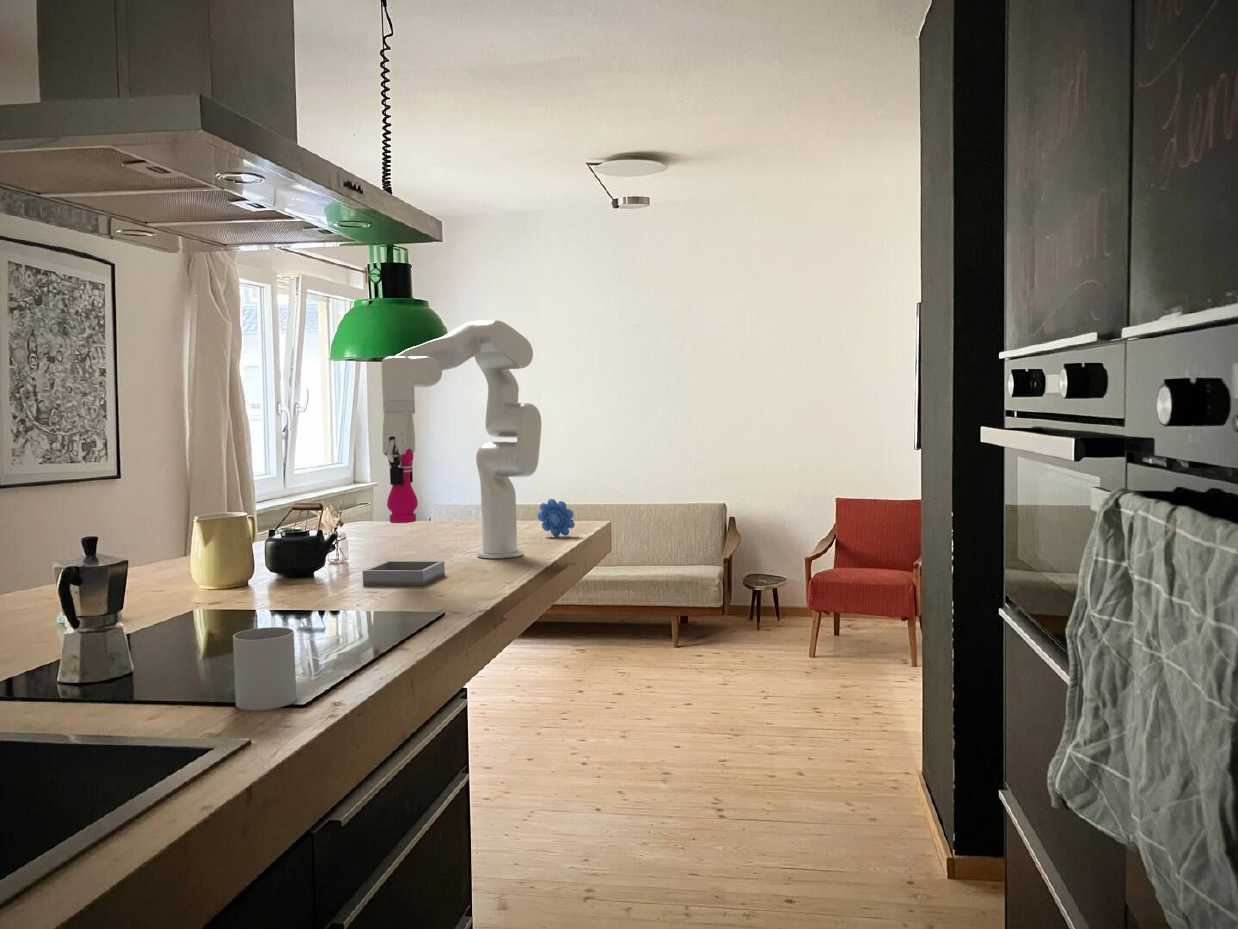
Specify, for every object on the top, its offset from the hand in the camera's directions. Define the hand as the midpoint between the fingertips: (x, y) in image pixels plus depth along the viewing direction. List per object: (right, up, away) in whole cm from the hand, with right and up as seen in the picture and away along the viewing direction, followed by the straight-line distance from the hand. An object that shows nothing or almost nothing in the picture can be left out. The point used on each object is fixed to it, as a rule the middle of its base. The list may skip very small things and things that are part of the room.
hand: (401, 482), depth 249 cm
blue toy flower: (+33, -19, +75) cm, 84 cm away
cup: (+1, -30, -99) cm, 104 cm away
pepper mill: (0, -10, +1) cm, 10 cm away
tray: (0, -24, +1) cm, 24 cm away
